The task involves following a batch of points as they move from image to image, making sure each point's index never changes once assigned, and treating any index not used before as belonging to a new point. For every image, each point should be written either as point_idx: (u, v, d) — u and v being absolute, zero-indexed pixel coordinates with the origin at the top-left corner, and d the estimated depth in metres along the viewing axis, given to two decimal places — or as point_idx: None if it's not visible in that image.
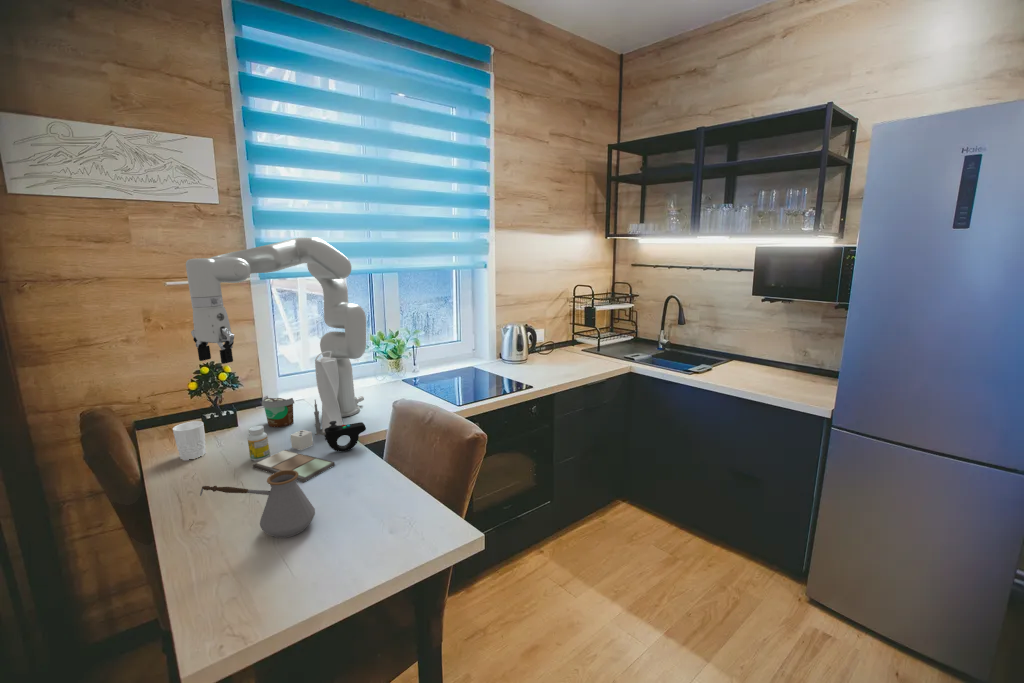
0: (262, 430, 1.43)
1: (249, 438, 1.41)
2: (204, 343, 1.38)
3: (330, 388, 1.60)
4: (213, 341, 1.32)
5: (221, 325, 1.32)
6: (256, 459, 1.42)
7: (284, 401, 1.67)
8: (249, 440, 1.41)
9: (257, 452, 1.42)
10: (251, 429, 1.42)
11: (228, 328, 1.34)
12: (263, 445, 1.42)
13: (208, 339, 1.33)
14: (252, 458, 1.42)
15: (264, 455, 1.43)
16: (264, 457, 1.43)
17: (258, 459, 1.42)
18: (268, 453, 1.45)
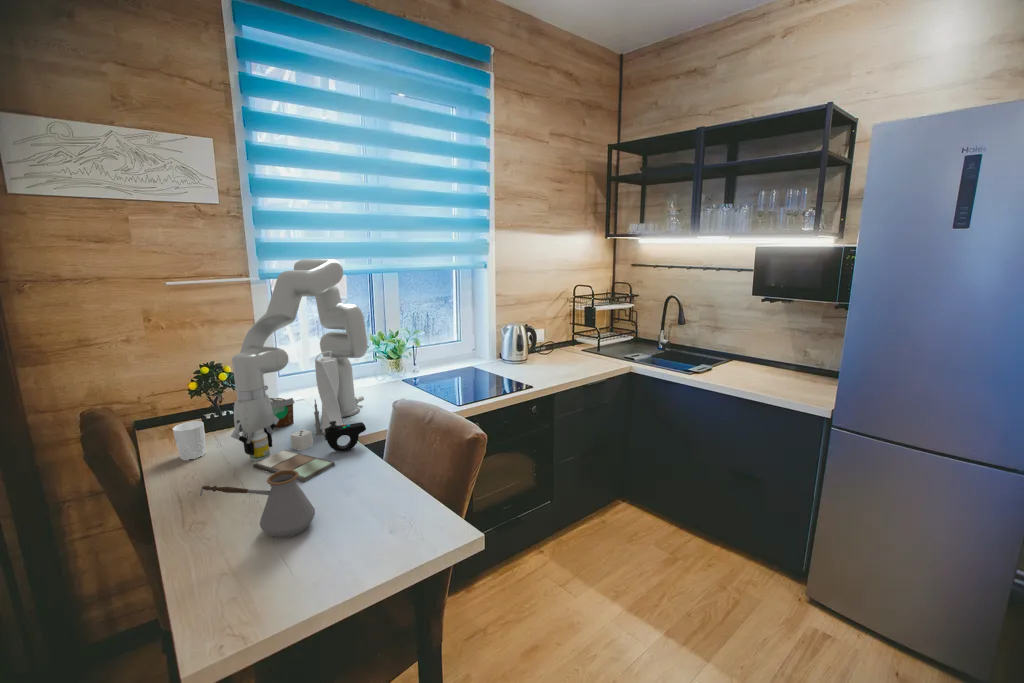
0: (262, 430, 1.43)
1: None
2: None
3: (330, 388, 1.60)
4: (269, 424, 1.45)
5: None
6: (256, 459, 1.42)
7: (284, 401, 1.67)
8: None
9: (256, 452, 1.42)
10: None
11: None
12: (263, 445, 1.42)
13: (264, 425, 1.43)
14: (252, 458, 1.42)
15: (264, 455, 1.43)
16: (264, 457, 1.43)
17: (258, 459, 1.42)
18: (268, 453, 1.45)
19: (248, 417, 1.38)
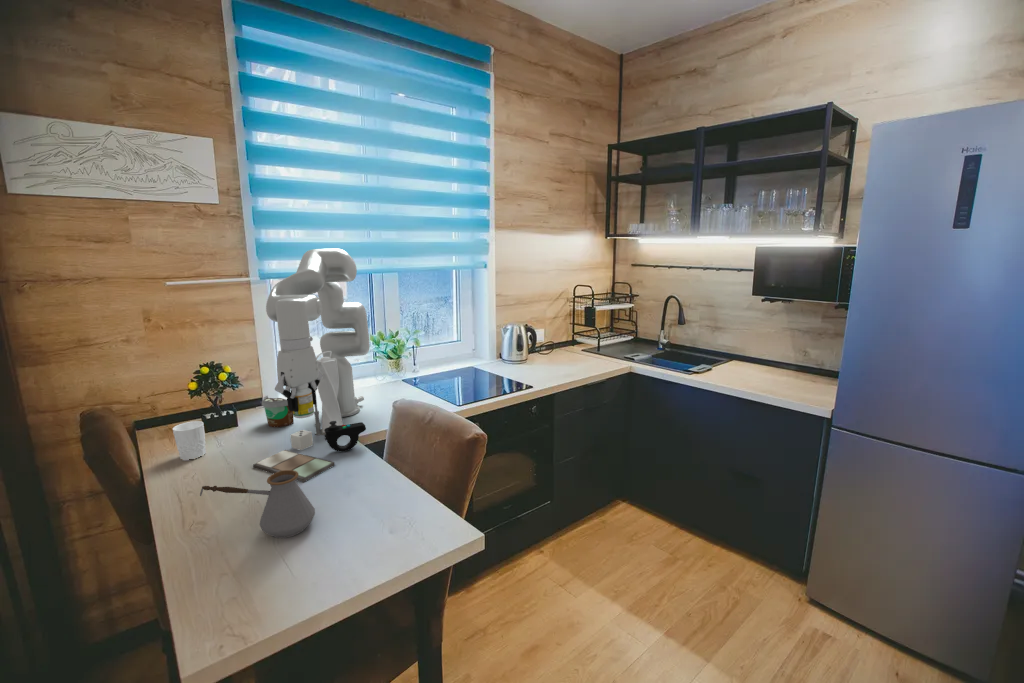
0: (307, 385, 1.30)
1: None
2: None
3: (330, 388, 1.60)
4: (314, 379, 1.32)
5: None
6: (300, 416, 1.29)
7: (284, 401, 1.67)
8: None
9: (301, 409, 1.29)
10: None
11: None
12: (307, 401, 1.29)
13: (309, 379, 1.30)
14: (296, 415, 1.29)
15: (309, 413, 1.30)
16: (309, 414, 1.30)
17: (302, 416, 1.29)
18: (313, 411, 1.32)
19: (293, 369, 1.25)
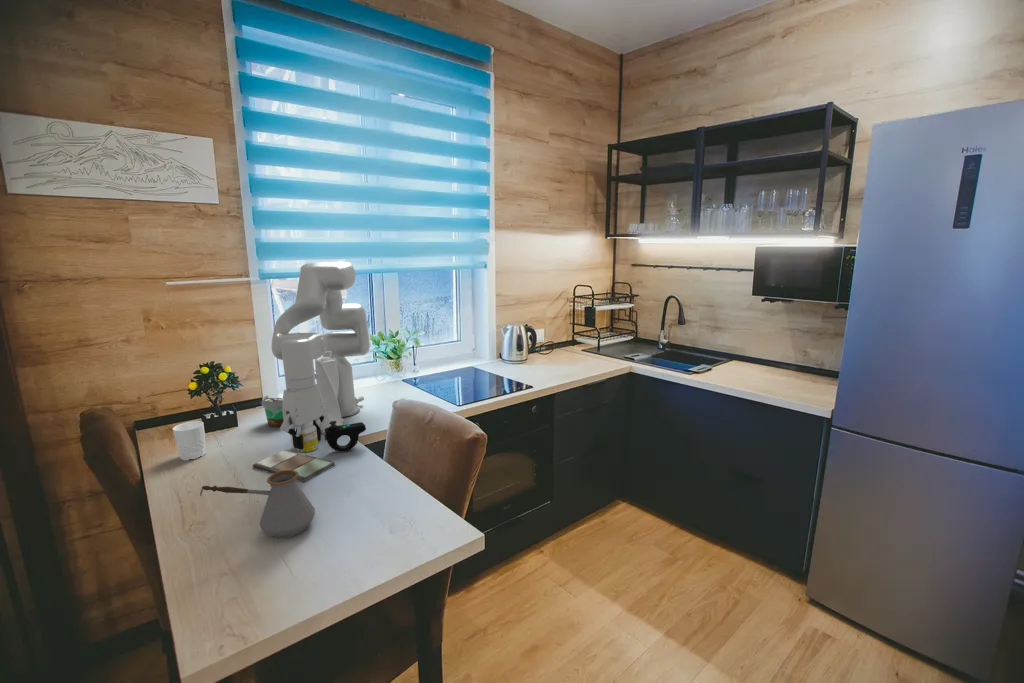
0: (311, 422, 1.32)
1: None
2: None
3: (330, 388, 1.60)
4: (319, 416, 1.34)
5: None
6: (305, 454, 1.31)
7: None
8: None
9: (306, 446, 1.31)
10: None
11: None
12: (312, 438, 1.31)
13: (314, 417, 1.32)
14: (301, 452, 1.31)
15: (314, 450, 1.32)
16: (313, 451, 1.32)
17: (307, 454, 1.31)
18: (317, 447, 1.34)
19: (298, 408, 1.27)
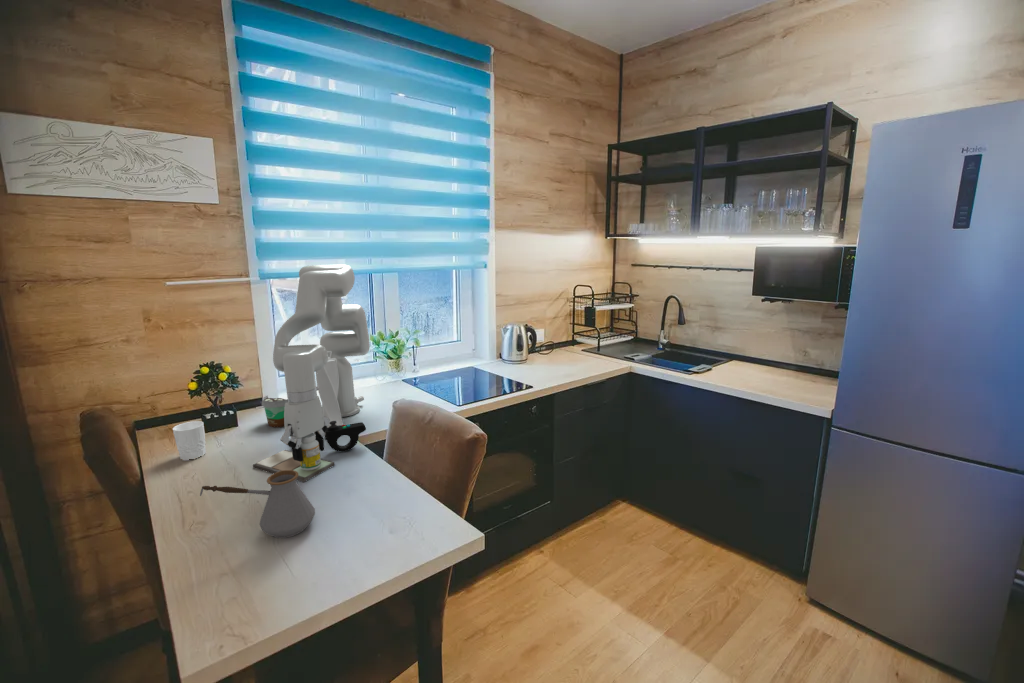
0: (314, 438, 1.33)
1: (300, 446, 1.32)
2: None
3: (330, 388, 1.60)
4: (320, 428, 1.35)
5: None
6: (308, 469, 1.33)
7: (284, 401, 1.67)
8: None
9: (308, 462, 1.32)
10: (302, 437, 1.32)
11: None
12: (315, 454, 1.33)
13: (315, 429, 1.33)
14: (303, 468, 1.33)
15: (316, 465, 1.34)
16: (316, 466, 1.34)
17: (310, 469, 1.33)
18: (320, 462, 1.35)
19: (300, 420, 1.28)
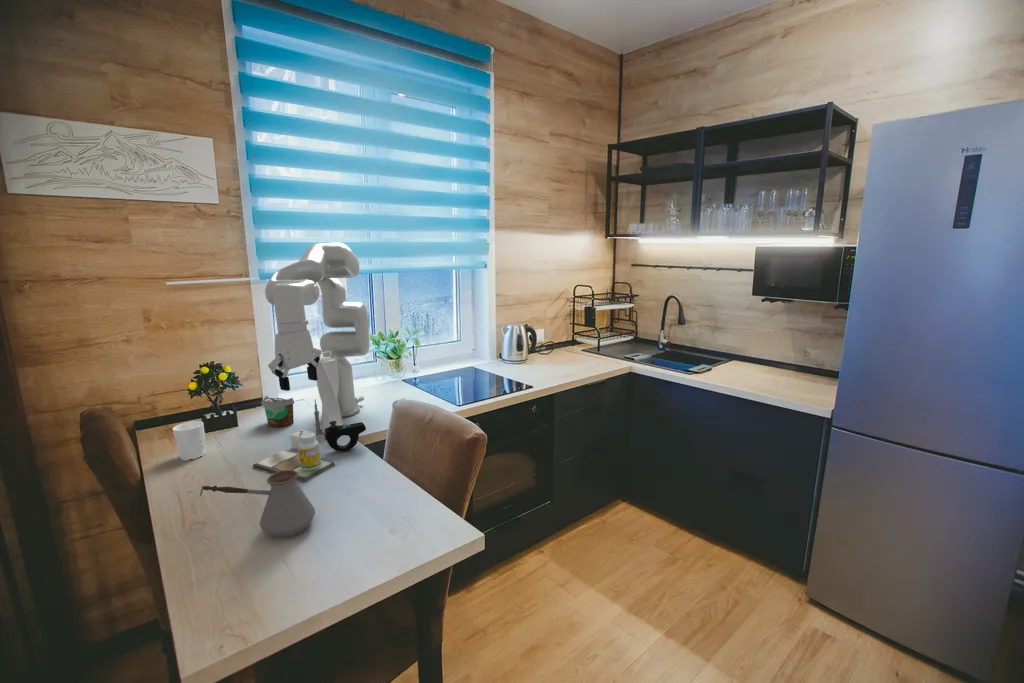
0: (314, 438, 1.33)
1: (300, 446, 1.32)
2: None
3: (330, 388, 1.60)
4: (310, 361, 1.37)
5: None
6: (308, 469, 1.33)
7: (284, 401, 1.67)
8: (300, 448, 1.32)
9: (308, 462, 1.32)
10: (302, 437, 1.32)
11: None
12: (315, 454, 1.33)
13: (305, 361, 1.35)
14: (303, 468, 1.33)
15: (316, 465, 1.34)
16: (316, 467, 1.34)
17: (310, 469, 1.33)
18: (319, 462, 1.35)
19: (290, 351, 1.30)
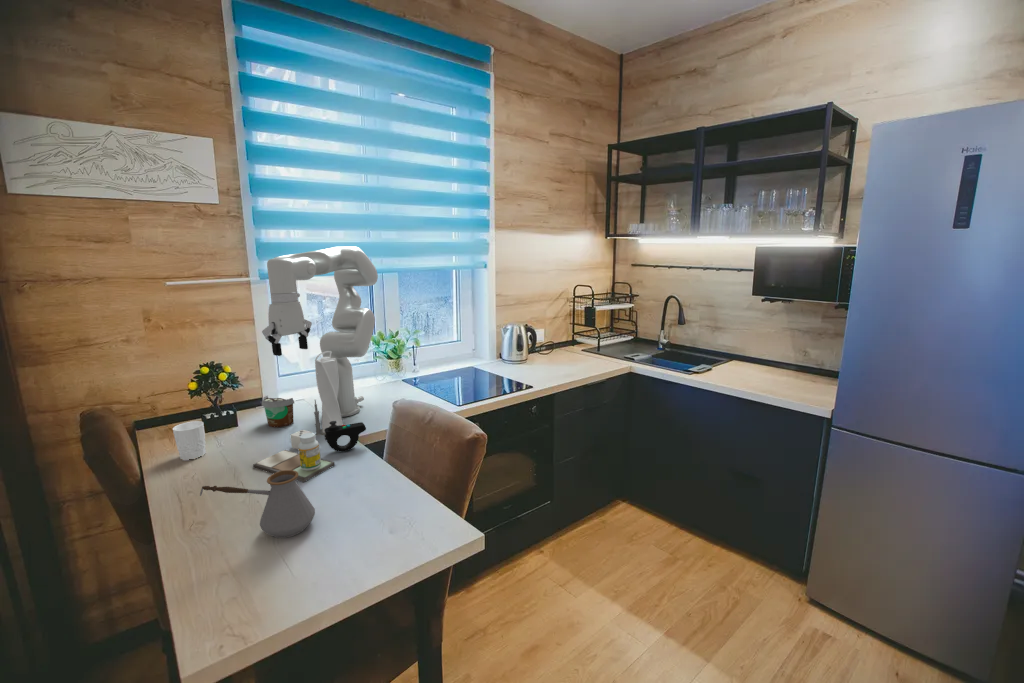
0: (314, 438, 1.33)
1: (300, 446, 1.32)
2: None
3: (330, 388, 1.60)
4: (301, 330, 1.51)
5: None
6: (308, 469, 1.33)
7: (284, 401, 1.67)
8: (300, 448, 1.32)
9: (308, 462, 1.32)
10: (302, 437, 1.32)
11: None
12: (314, 454, 1.33)
13: (296, 330, 1.49)
14: (303, 468, 1.33)
15: (316, 465, 1.34)
16: (316, 467, 1.34)
17: (310, 469, 1.33)
18: (319, 462, 1.35)
19: (282, 319, 1.44)
